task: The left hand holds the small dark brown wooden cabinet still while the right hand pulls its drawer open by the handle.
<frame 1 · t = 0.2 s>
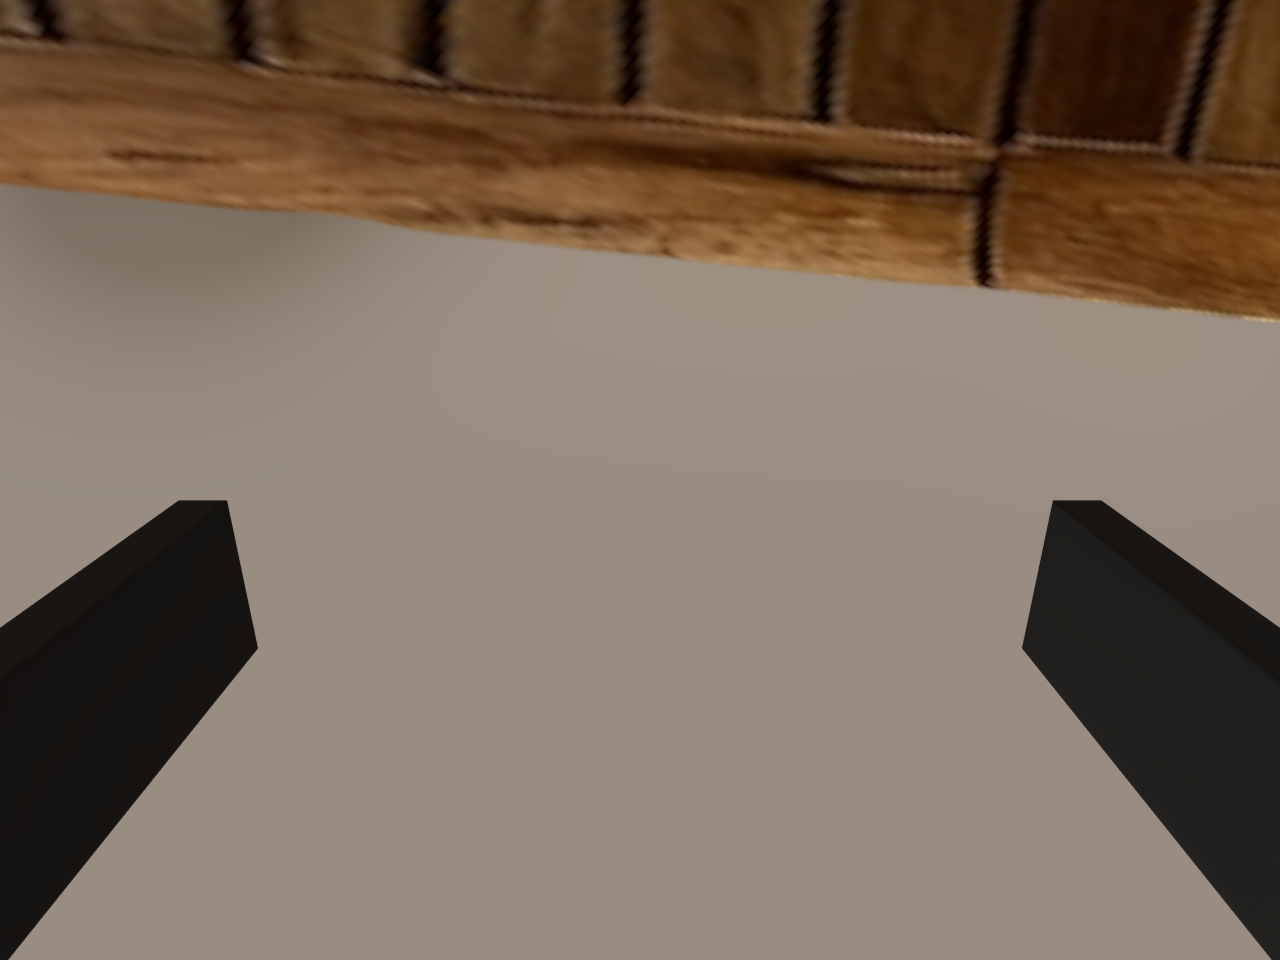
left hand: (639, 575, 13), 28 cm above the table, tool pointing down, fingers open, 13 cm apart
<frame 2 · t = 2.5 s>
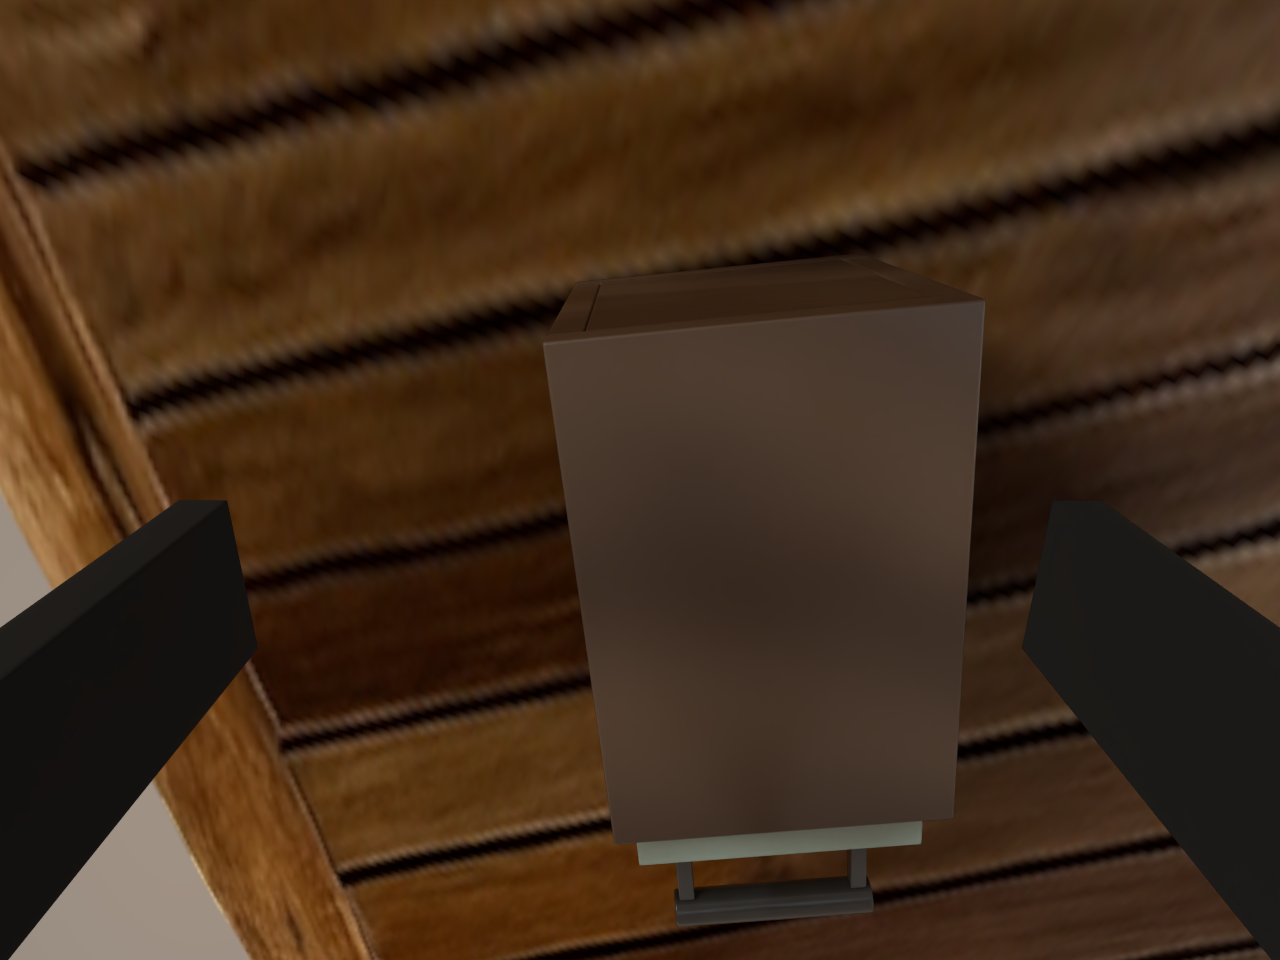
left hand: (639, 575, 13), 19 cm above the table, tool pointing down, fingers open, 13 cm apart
drawer: (754, 664, 29), point 6 cm above the table, slide at 0.8 cm
cabinet: (729, 468, 32), on the table
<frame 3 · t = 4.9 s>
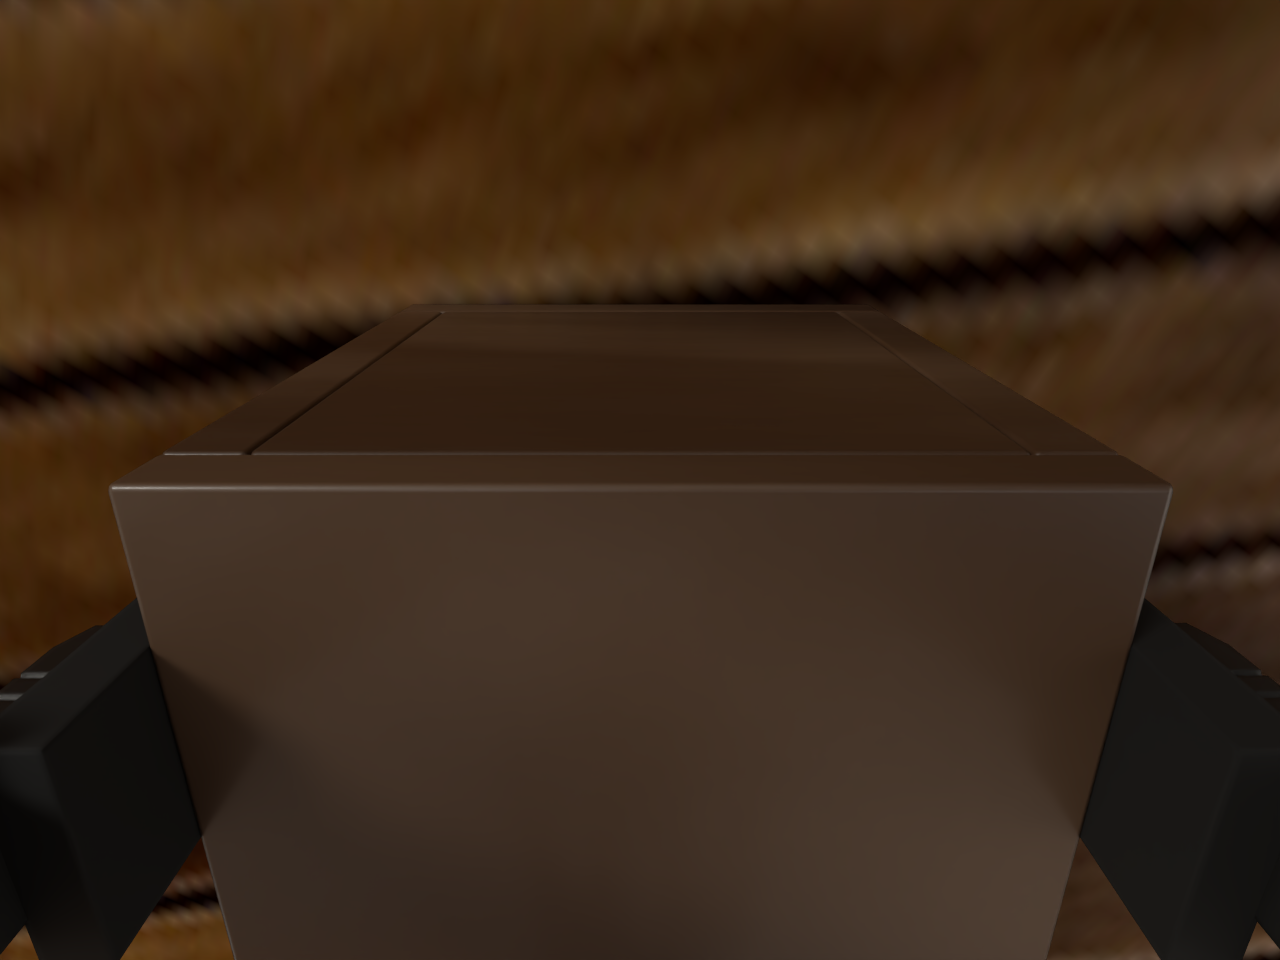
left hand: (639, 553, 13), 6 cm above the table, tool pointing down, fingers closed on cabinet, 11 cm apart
cabinet: (640, 605, 21), on the table, touching left hand
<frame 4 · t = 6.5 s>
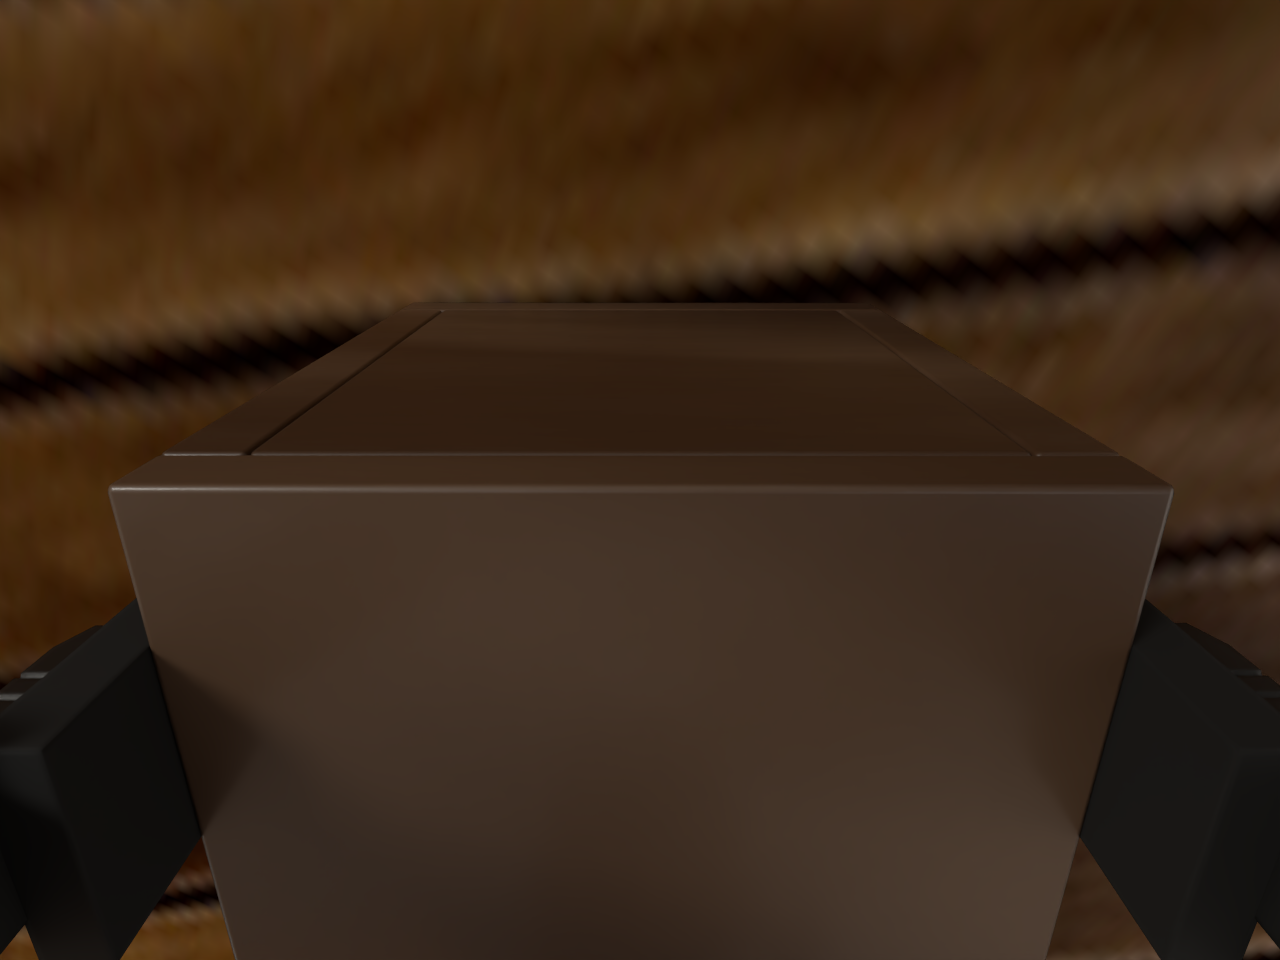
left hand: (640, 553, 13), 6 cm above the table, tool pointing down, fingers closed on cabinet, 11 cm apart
cabinet: (640, 603, 21), on the table, touching left hand
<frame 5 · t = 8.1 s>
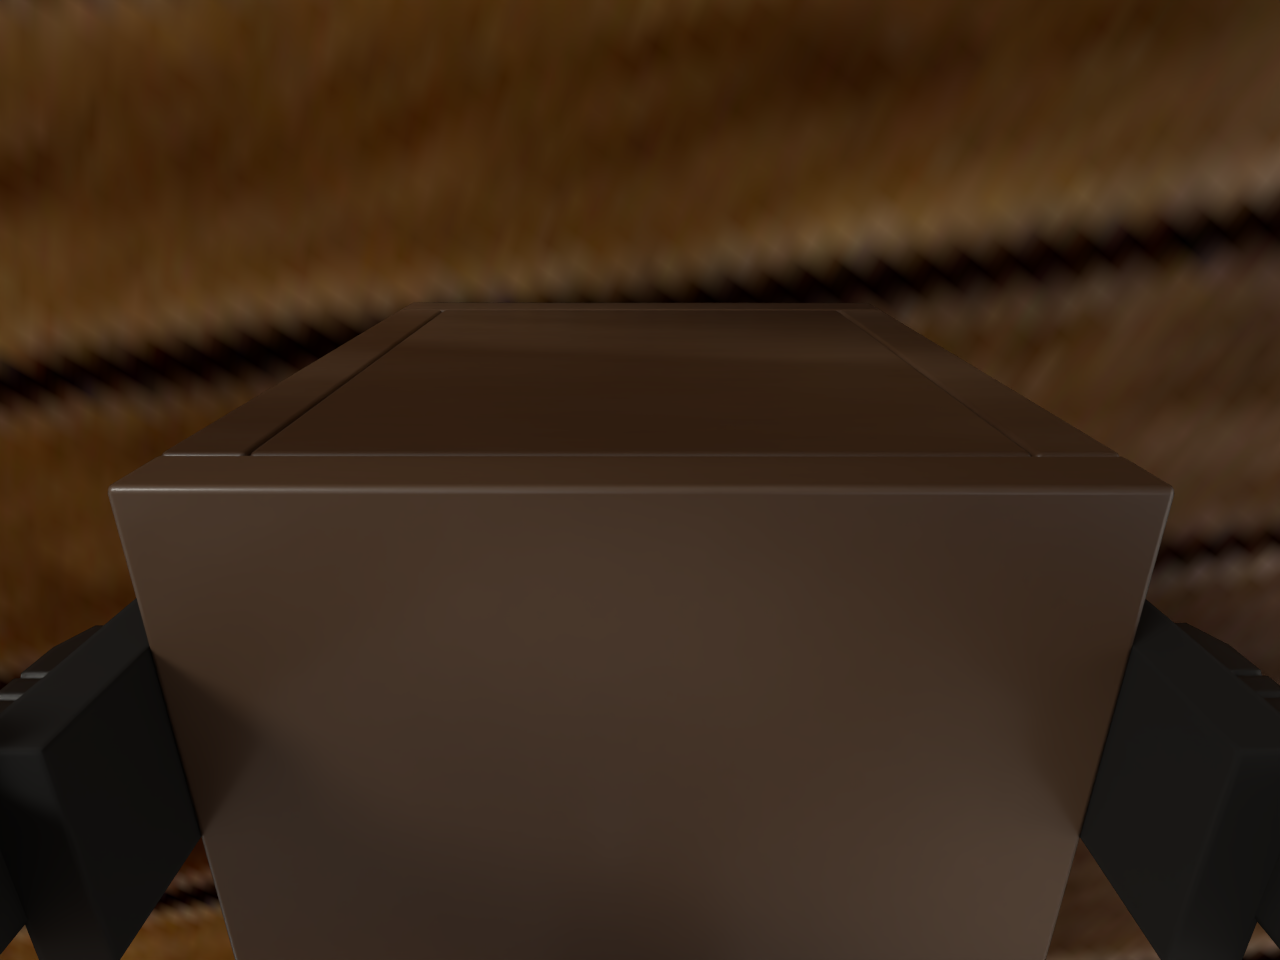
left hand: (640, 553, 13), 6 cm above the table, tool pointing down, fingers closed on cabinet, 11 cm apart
cabinet: (640, 603, 21), on the table, touching left hand
when the left hand's fingers open (6 cm above the table, at t = 9.8 s): cabinet stays where it is, on the table.
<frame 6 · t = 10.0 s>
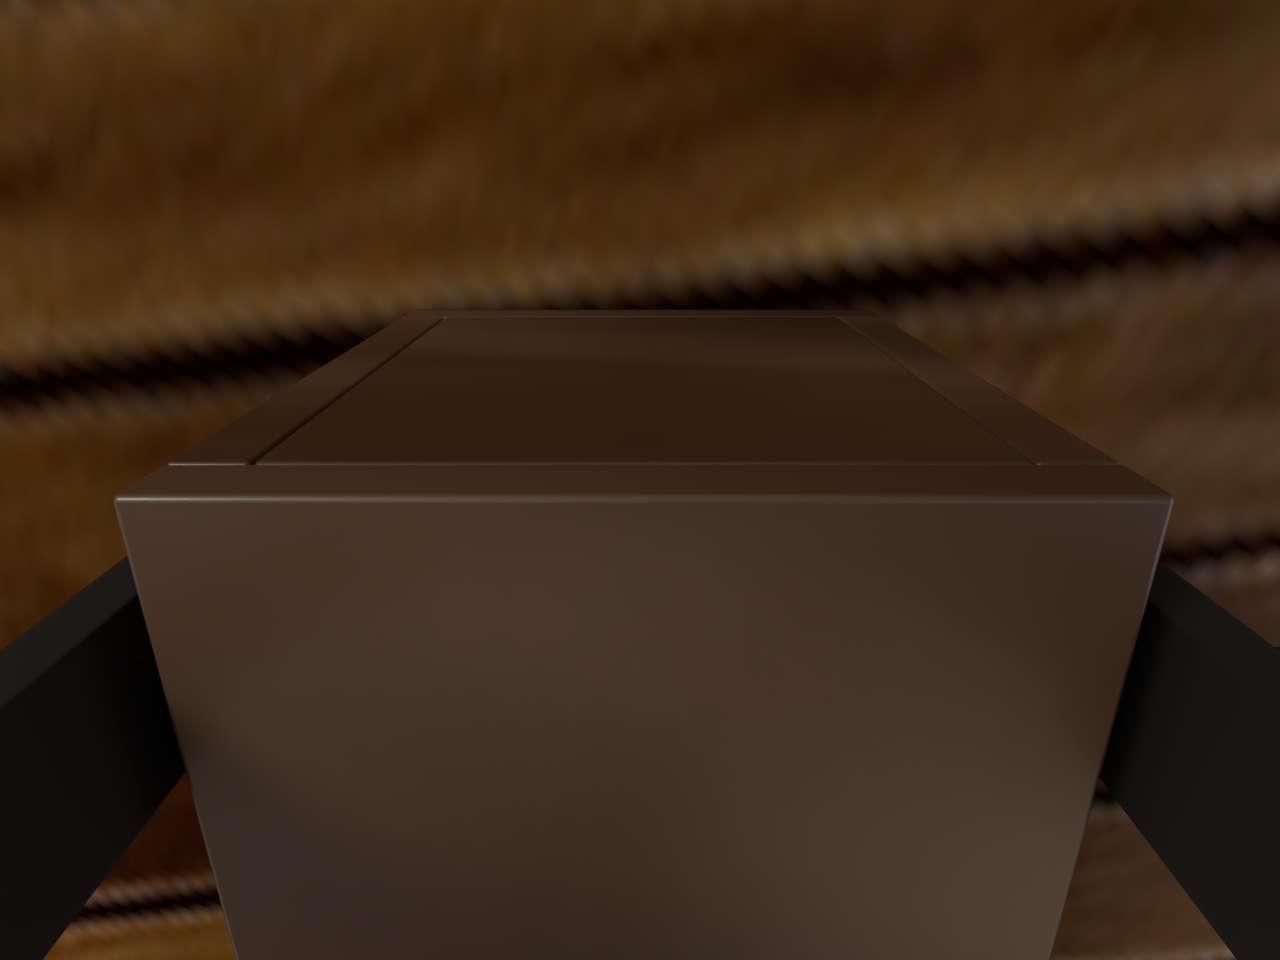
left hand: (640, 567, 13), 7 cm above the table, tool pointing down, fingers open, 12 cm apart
cabinet: (641, 609, 21), on the table
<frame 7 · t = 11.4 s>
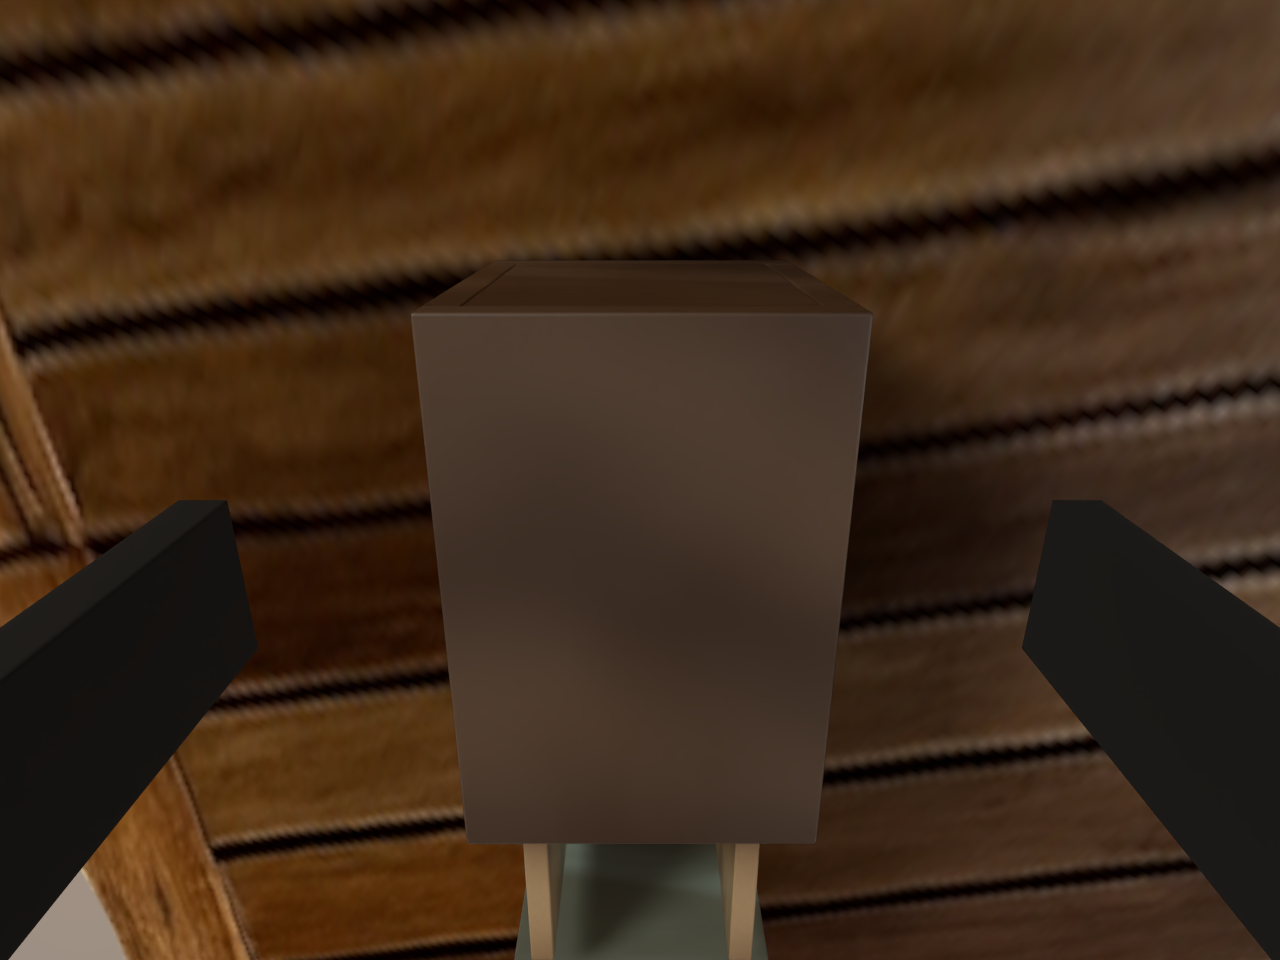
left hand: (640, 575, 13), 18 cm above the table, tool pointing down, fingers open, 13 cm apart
drawer: (641, 826, 31), point 6 cm above the table, slide at 8.1 cm
cabinet: (641, 467, 31), on the table
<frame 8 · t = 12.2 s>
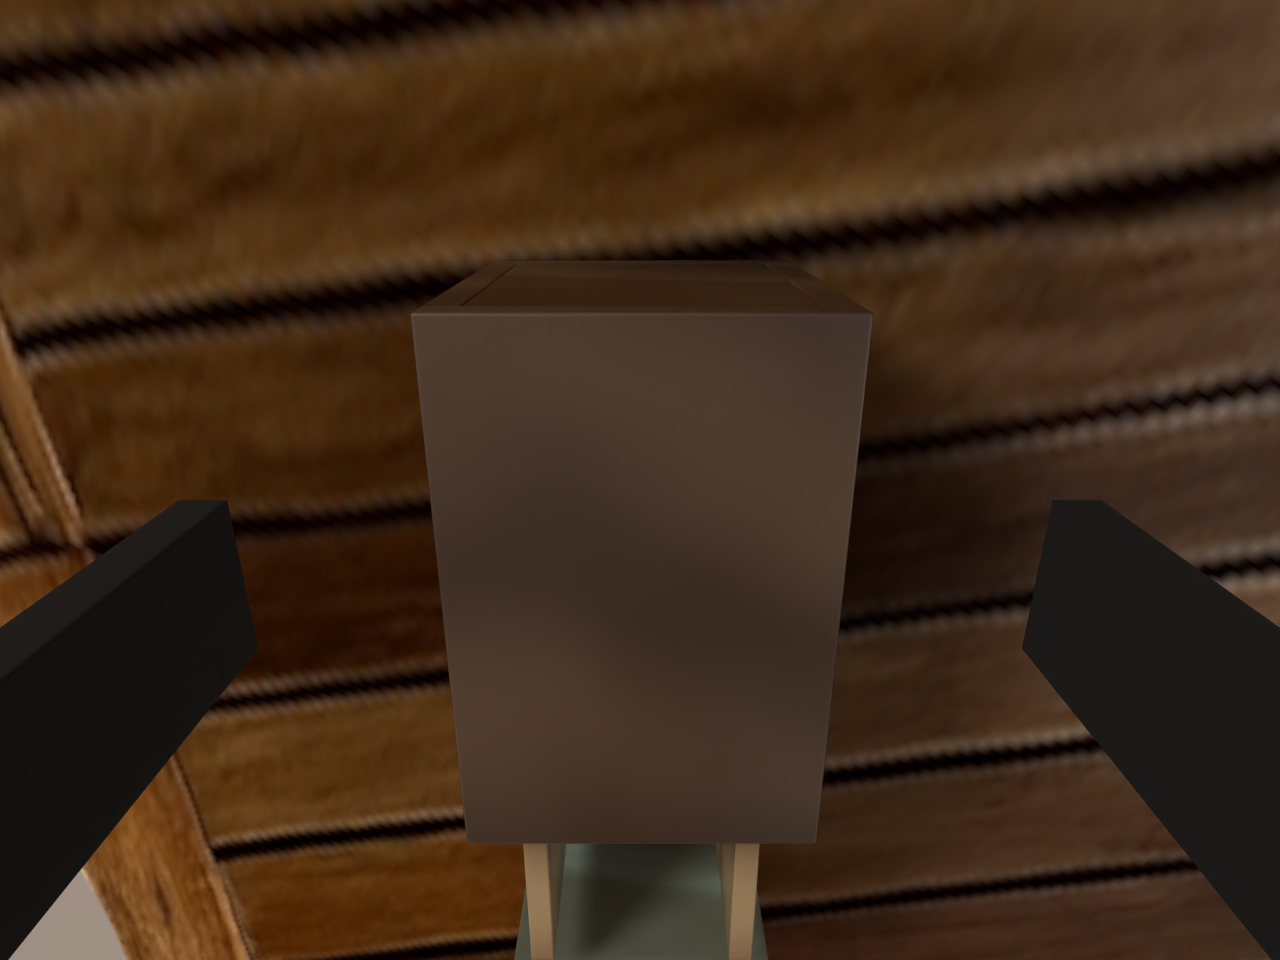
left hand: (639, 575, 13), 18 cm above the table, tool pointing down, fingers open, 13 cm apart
drawer: (641, 826, 31), point 6 cm above the table, slide at 8.1 cm
cabinet: (641, 467, 31), on the table
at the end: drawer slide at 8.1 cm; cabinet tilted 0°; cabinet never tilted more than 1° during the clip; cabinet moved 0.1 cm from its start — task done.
